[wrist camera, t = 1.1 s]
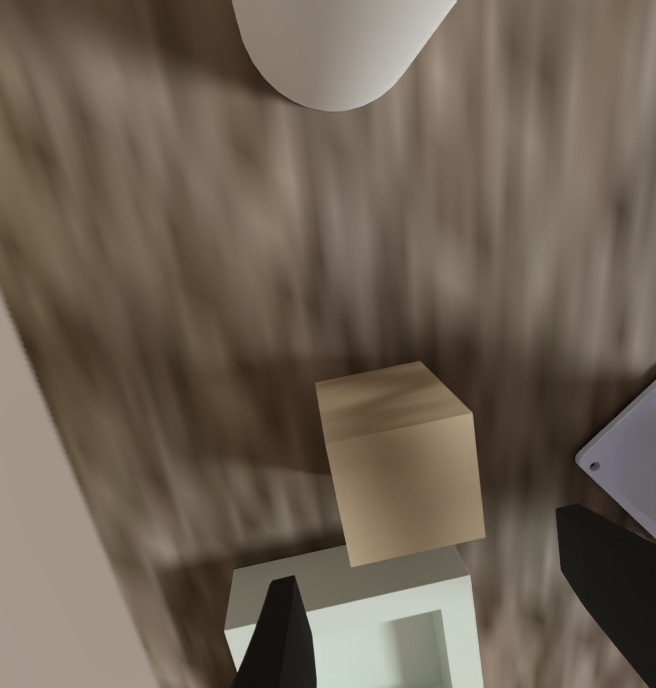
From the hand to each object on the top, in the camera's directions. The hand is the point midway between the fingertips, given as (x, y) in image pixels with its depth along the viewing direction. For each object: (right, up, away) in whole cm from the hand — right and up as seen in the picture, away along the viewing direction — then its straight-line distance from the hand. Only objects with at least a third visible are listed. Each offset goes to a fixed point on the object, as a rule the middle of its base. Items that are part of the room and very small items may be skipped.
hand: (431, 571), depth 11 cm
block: (0, +2, +9) cm, 10 cm away
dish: (-1, -10, +12) cm, 16 cm away
